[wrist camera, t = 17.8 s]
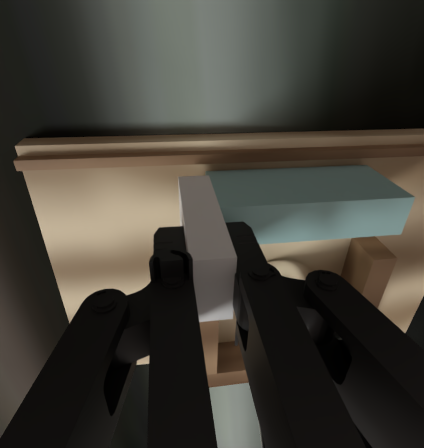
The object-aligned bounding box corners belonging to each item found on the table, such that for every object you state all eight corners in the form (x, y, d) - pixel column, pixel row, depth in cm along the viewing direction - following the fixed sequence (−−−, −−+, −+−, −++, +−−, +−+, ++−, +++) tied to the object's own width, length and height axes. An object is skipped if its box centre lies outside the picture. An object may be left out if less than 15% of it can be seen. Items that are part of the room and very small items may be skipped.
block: (205, 171, 17) (217, 208, 13) (366, 164, 18) (415, 197, 15) (205, 205, 18) (216, 247, 14) (357, 197, 19) (400, 234, 16)
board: (23, 138, 16) (-9, 165, 13) (484, 127, 19) (547, 146, 16) (87, 356, 25) (77, 404, 22) (395, 322, 28) (425, 360, 25)
